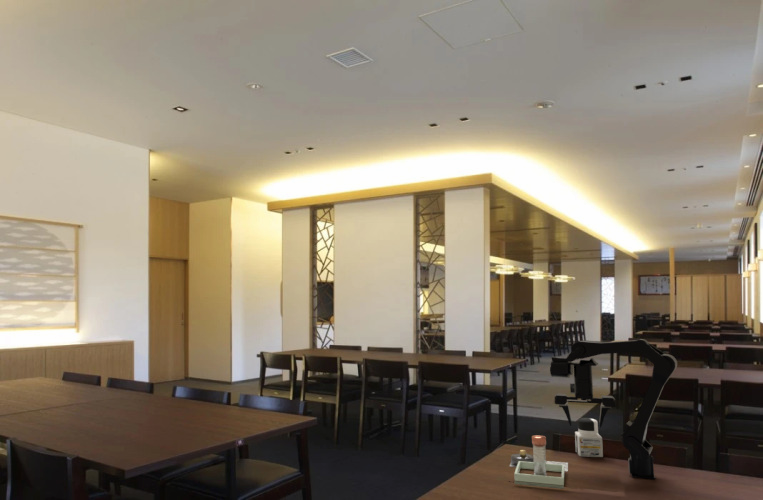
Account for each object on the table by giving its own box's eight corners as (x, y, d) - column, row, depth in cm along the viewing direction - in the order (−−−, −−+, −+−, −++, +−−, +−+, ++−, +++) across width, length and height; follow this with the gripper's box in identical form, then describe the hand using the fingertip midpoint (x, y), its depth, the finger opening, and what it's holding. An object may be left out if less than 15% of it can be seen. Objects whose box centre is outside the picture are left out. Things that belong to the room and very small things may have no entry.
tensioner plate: (568, 465, 179) (567, 450, 180) (567, 474, 170) (567, 458, 170) (512, 461, 185) (512, 446, 186) (509, 469, 176) (509, 453, 176)
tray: (564, 474, 170) (564, 464, 170) (563, 488, 156) (563, 478, 157) (518, 470, 174) (518, 461, 175) (514, 484, 161) (514, 473, 161)
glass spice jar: (544, 474, 168) (542, 435, 169) (549, 479, 164) (548, 438, 165) (531, 475, 167) (529, 435, 168) (536, 479, 163) (534, 439, 164)
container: (579, 459, 187) (578, 420, 188) (575, 453, 194) (574, 416, 196) (603, 460, 186) (601, 421, 187) (598, 454, 193) (596, 416, 194)
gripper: (611, 376, 185) (614, 423, 183) (554, 374, 191) (556, 420, 189) (614, 381, 174) (616, 430, 173) (553, 378, 180) (555, 426, 179)
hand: (585, 426), depth 179 cm, fingers open, 9 cm apart
